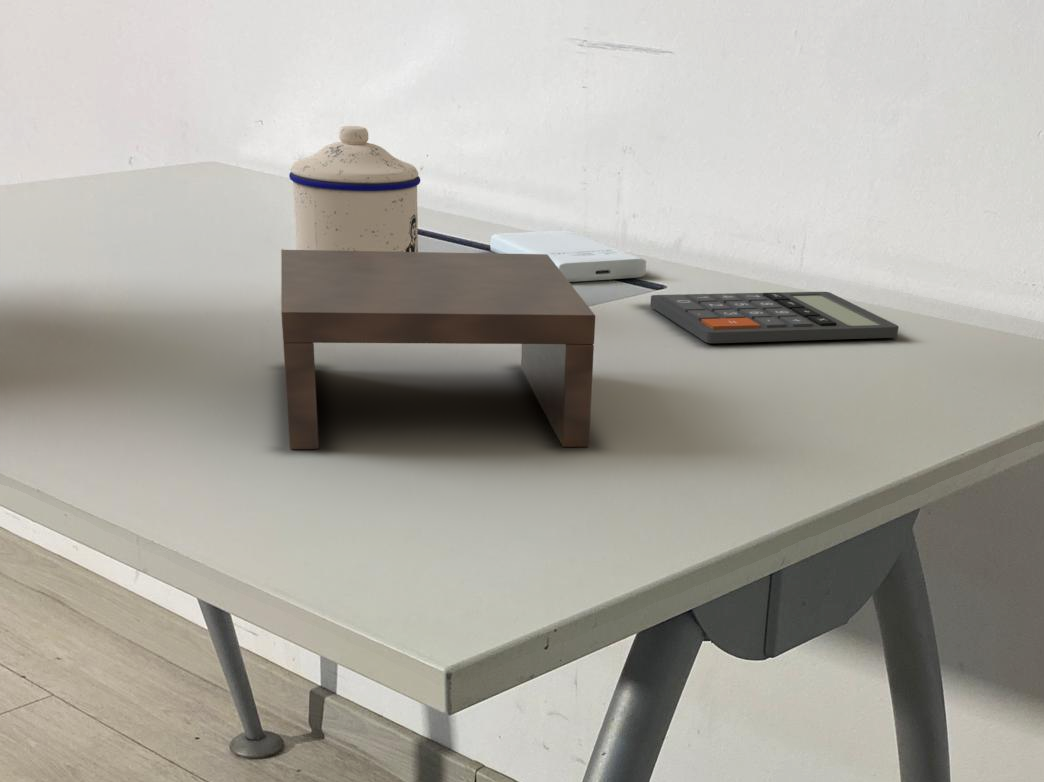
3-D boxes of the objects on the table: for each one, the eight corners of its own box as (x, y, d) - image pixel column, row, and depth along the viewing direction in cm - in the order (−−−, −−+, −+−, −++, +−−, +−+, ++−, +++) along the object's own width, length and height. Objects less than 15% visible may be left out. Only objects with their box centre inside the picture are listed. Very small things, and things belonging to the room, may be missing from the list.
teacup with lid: (433, 314, 102) (432, 136, 96) (305, 317, 100) (295, 134, 94) (401, 279, 112) (397, 115, 106) (283, 280, 109) (273, 113, 103)
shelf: (289, 449, 75) (281, 312, 71) (288, 368, 88) (281, 249, 85) (589, 447, 78) (595, 315, 74) (544, 369, 91) (547, 254, 88)
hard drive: (573, 249, 126) (645, 277, 117) (489, 253, 123) (558, 283, 114) (573, 229, 126) (647, 256, 117) (490, 233, 122) (558, 261, 113)
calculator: (649, 292, 107) (828, 288, 112) (648, 305, 108) (826, 301, 112) (708, 329, 98) (901, 324, 103) (707, 343, 99) (899, 337, 103)
